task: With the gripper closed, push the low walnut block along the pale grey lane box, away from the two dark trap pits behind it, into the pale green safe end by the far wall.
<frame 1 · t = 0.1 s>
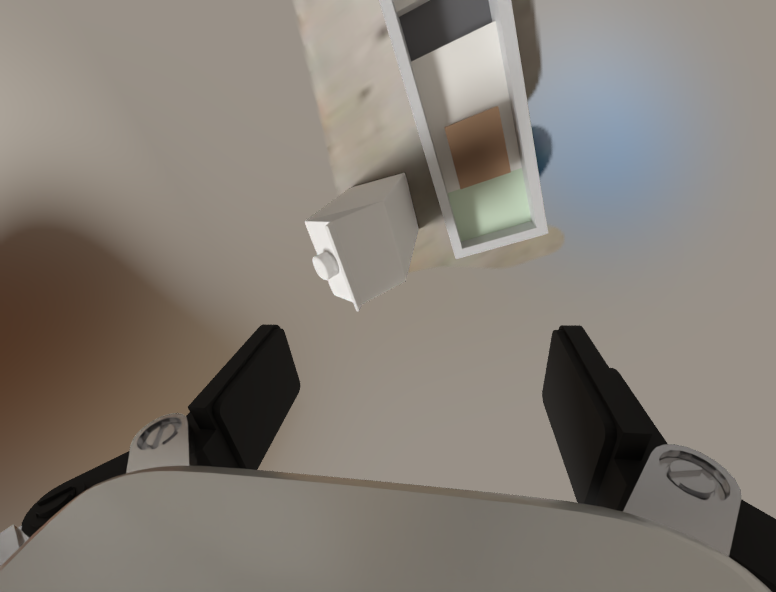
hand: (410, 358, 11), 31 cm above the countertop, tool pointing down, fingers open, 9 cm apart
block: (475, 147, 34), point 2 cm above the countertop, touching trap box
milk carton: (385, 208, 40), on the countertop
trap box: (463, 101, 33), on the countertop
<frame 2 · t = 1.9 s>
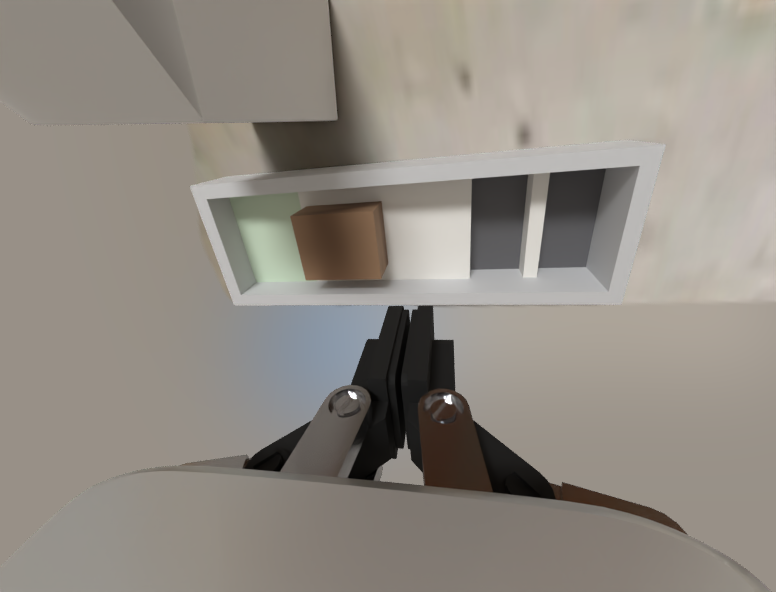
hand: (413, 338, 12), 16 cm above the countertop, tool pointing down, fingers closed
block: (348, 235, 26), point 2 cm above the countertop, touching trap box
milk carton: (287, 64, 23), on the countertop
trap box: (407, 225, 26), on the countertop
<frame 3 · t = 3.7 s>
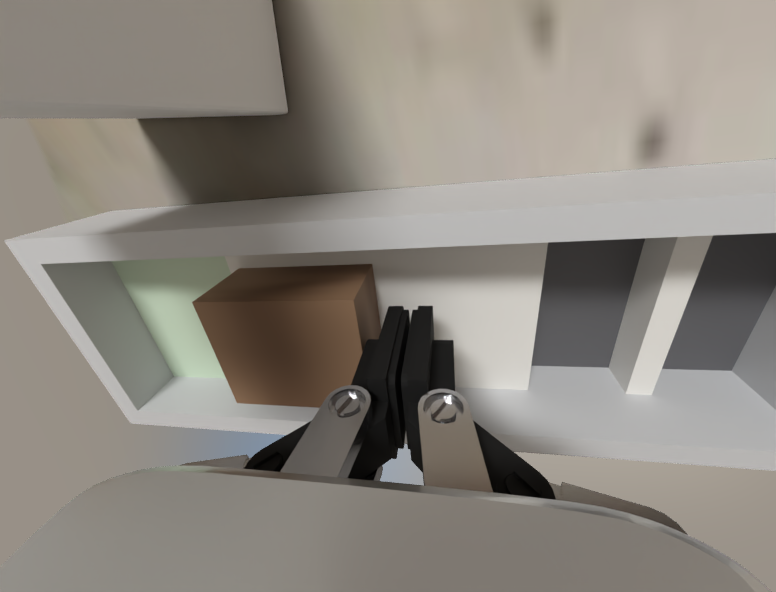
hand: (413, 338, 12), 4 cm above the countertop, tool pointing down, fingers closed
block: (315, 316, 15), point 2 cm above the countertop, touching gripper
milk carton: (185, 4, 12), on the countertop
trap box: (417, 294, 15), on the countertop
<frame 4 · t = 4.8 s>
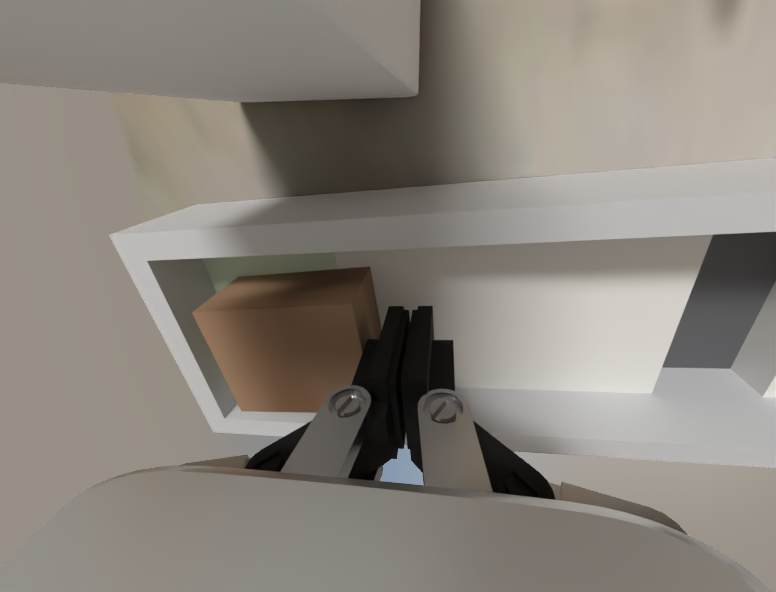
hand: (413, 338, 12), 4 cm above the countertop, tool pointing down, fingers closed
block: (315, 321, 15), point 2 cm above the countertop, touching gripper, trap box
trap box: (527, 292, 15), on the countertop
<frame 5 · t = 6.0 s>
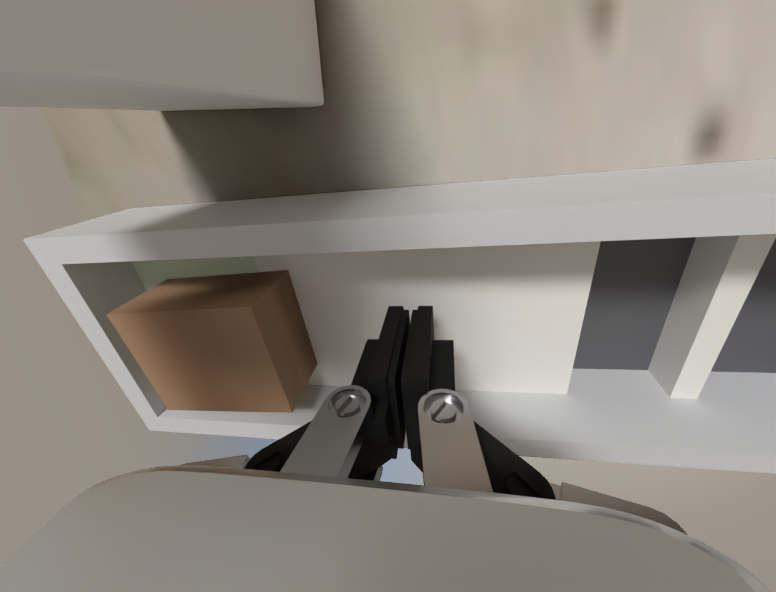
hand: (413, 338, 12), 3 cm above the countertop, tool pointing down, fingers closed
block: (244, 323, 15), point 2 cm above the countertop, touching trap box
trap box: (450, 295, 15), on the countertop
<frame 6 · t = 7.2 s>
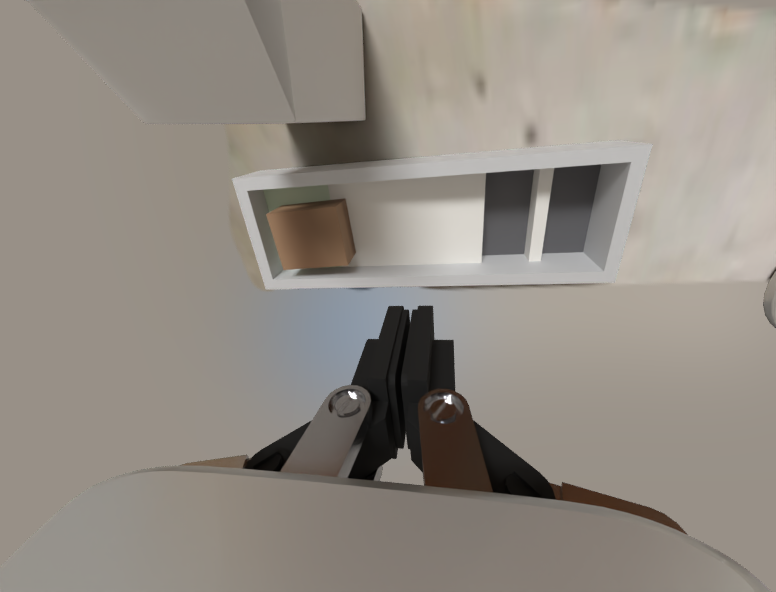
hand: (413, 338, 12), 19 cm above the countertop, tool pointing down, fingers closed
block: (319, 229, 29), point 2 cm above the countertop, touching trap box
milk carton: (321, 69, 25), on the countertop
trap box: (424, 215, 29), on the countertop
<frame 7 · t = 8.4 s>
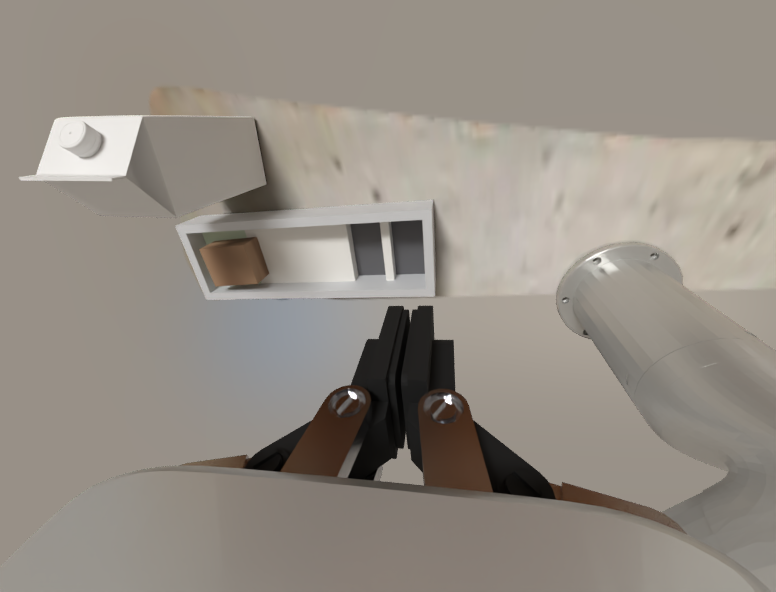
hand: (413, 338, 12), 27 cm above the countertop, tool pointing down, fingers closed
block: (242, 257, 41), point 2 cm above the countertop, touching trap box
milk carton: (234, 152, 37), on the countertop
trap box: (316, 247, 41), on the countertop
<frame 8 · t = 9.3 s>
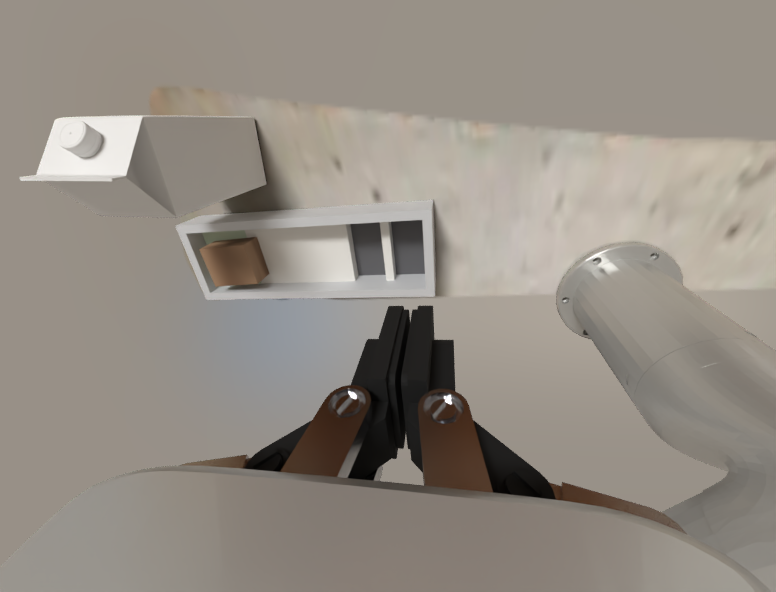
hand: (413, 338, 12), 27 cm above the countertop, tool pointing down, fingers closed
block: (242, 257, 41), point 2 cm above the countertop, touching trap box
milk carton: (234, 152, 37), on the countertop
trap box: (317, 247, 41), on the countertop
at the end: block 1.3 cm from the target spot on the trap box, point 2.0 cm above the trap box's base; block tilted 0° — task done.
